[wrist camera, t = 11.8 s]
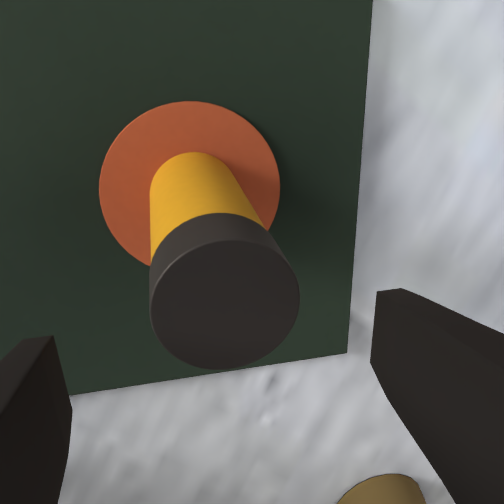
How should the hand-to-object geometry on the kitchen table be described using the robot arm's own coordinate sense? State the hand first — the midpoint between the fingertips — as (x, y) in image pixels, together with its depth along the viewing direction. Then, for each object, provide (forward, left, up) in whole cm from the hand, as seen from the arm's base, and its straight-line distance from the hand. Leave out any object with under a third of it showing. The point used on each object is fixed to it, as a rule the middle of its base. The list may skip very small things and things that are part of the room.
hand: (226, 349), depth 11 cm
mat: (-1, 0, -10) cm, 10 cm away
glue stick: (0, +1, -9) cm, 9 cm away
